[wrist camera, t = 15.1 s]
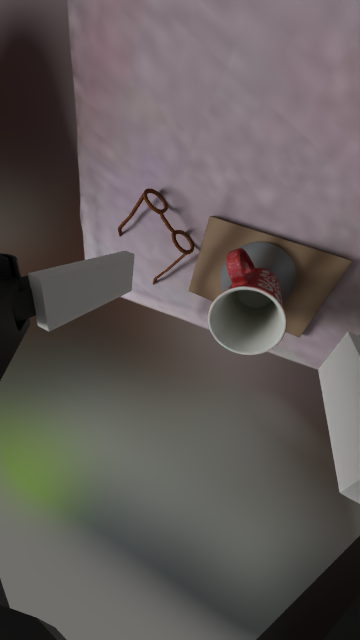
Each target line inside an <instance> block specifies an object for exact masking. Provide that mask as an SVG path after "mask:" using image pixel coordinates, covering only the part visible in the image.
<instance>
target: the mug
mask: <svg viewBox="0 0 360 640" xmlns="http://www.w3.org/2000/svg"><path fill="white" fill-rule="evenodd" d="M226 267H227V271H228V274H229V277H230V279H231V282H232V284H231V286H230V287H229V288H228V289H227V290H226V291H224V292H223V293H221V294H220V295H219V296H218V297H217V298H216V299H215V300H214V301H213V302H212V304H211V306H210V309H209V312H208V325H209V329H210V331H211V333H212V334H213V336H214V338H215V339H216V340H217V342H218V343H220V344H221V345H222V346H223V347H225V348H226V349H228V350H230V351H233V352H235V353H239V354H244V355H256V354H261V353H264V352H267V351H269V350H271V349H272V348H274V347H275V346H276V345H277V344H278V343H279V342H280V341H281V339H282V338H283V336H284V334H285V331H286V327H287V318H286V313H285V311H284V308H283V304H282V297H281V289H280V283H279V281H278V279H277V277H276V276H275V275H274V274H273V273H272V272H271V271H269V270H266V269H263V268H255V266H254V264H253V262H252V260H251V259H250V257H249V255H248V254H247V252H246V251H245V250H244V249H242V248H238V249H235V250H232V251H230V252H229V253H228V254H227V256H226Z"/></svg>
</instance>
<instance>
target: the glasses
mask: <svg viewBox="0 0 360 640" xmlns="http://www.w3.org/2000/svg"><path fill="white" fill-rule="evenodd" d="M148 193H153V194H155V195H157V196H158V197H159V198H160V200H161V201H162V203H163V205H164V209H162V210H159V209H157V208H156V207H154V206H153V205H152V204H151V203H150V201H149V200H148V197H147V194H148ZM143 200H145V202H146V203H147V205H148V206H149V207H150V208H151V209H152V210H153V211H155V212H156V213H158V214H160V216H161V219H162V220H163V222H164V223H165V225H166V226H167V228H168V229H169V230H170V231H171V232H172V240H173V242H174V244H175V246H176V247H177V248H178V249H179V250H180V251H181V252H182V253H184V254H183V255H182V256H181V257H180V258H178V259H177V260H176V261H175V262H174V263H173V264H172V265H171V266H169V267H168V268H167V269H166V270H165V271H163V272H162V273H161V274H159V275H158V276H157V277H155V278H154V281H153V285H154V284H155V283H156V281H157V279H158V278H159V277H160V276H161V275H163V274H164V273H166V272H167V271H168V270H170V269H171V268H172V267H173V266H174V265H175V264H176V263H178V262H179V261H180V260H181V259H182V258H183V257H184V256H185V255H187V254H190V253H191V252H193V250H194V244H193V242H192V240H191V239H190V237H189V236H188V235H187V234H186V233H185V232H184V231H182V230H176V231H175V230H174V229H173V228H172V227H171V226H170V224H169V223H168V221H167V220H166V218H165V217H164V215H163V213H165V212H166V211H167V209H168V206H167V203H166V201H165V200H164V198H163V197H162V196H161V194H160V193H158V192H157V191H155V190H153V189H146V190H145V191H144V193H143V194H142V196H141V197H140V199H139V201H138V202H137V204H136V205H135V207H134V208H133V210H132V212H131V213H130V215H129V216H128V217H127V218H126V219H125V220H124V221H123V222H122V224H121V225H120V226H119V227H118V232H119V236H121V235H122V230H121V229H122V227H123V226H124V225H125V224H126V223H127V222H128V221H129V220H130V219H131V218H132V216H133V215H134V213H135V212H136V210H137V209H138V207H139V206H140V204H141V203H142V201H143ZM176 234H182V235H183V236H185V237H186V238H187V240H188V241H189V243H190V246H191V248H190V250H184V249H183V248H182V247H181V246H180V245H179V244H178V242H177V240H176Z"/></svg>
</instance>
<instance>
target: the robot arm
mask: <svg viewBox="0 0 360 640" xmlns="http://www.w3.org/2000/svg"><path fill="white" fill-rule="evenodd" d="M133 266H134V254H133V253H130V252H127V251H122V252H118V253H113V254H109V255H105V256H100V257H96V258H92V259H88V260H84V261H79V262H75V263H71V264H67V265H62V266H58V267H53V268H49V269H45V270H41V271H36V272H32V273H28V276H24V277H21V275H20V270H19V266H18V261H17V258H16V257H15V256H13V255H9V254H2V253H0V380H1V378H2V376H3V374H4V372H5V371H6V369H7V367H8V365H9V363H10V361H11V359H12V358H13V356H14V354H15V352H16V350H17V348H18V346H19V345H20V342H21V341H22V339H23V337H24V335H25V333H26V332H27V330H28V328H29V326H30V317H33V316H35V315H36V318H37V324H38V326H40V327H42V328H43V329H45V330H47V331H51V330H53V329H55V328H57V327H59V326H61V325H63V324H65V323H67V322H69V321H71V320H73V319H75V318H77V317H79V316H81V315H83V314H85V313H87V312H89V311H91V310H94V309H96V308H97V307H100V306H102V305H104V304H106V303H108V302H110V301H112V300H114V299H116V298H118V297H120V296H122V295H124V294H126V293H128V292H130V291H131V289H132V277H133ZM318 371H319V376H320V382H321V388H322V393H323V400H324V405H325V411H326V417H327V422H328V428H329V433H330V439H331V445H332V451H333V457H334V462H335V468H336V474H337V479H338V485H339V491H340V493H341V494H343V495H345V496H347V497H348V498H350V499H352V500H354V501H355V502H358V503H359V504H360V336H359V335H356V334H353V333H351V332H347V333H346V334H345V336H344V337H343V338H342V339H341V341H340V342H339V343H338V345H337V346H336V347H335V349H334V350H333V351H332V352H331V354H330V355H329V356H328V358H327V359H326V360H325V361H324V363H323V364H322V365H321V367H320V368H319V369H318ZM0 640H66V639H65V638H64V637H63V635H62V634H61V633H60V632H59V631H58V630H57V629H56V628H55V627H53V626H51V625H49V624H47V623H45V622H44V621H42V620H40V619H38V618H36V617H33V616H30V615H27V614H24V613H22V612H19V611H16V610H13V609H10V607H9V604H8V601H7V598H6V595H5V592H4V589H3V586H2V583H1V580H0ZM256 640H360V536H359V537H358V538H357V539H356V540H355V541H354V542H353V543H352V544H351V545H350V546H349V547H348V548H347V549H346V550H345V551H344V552H343V553H342V554H341V555H340V556H339V557H338V558H337V559H336V560H335V561H334V562H333V563H332V564H331V565H330V566H329V567H328V568H327V569H326V570H325V571H324V572H323V573H322V574H321V575H320V576H319V577H318V578H317V579H316V580H315V581H314V582H313V583H312V584H311V585H310V586H309V587H308V588H307V589H306V590H305V591H304V592H303V593H302V594H301V595H300V596H299V597H298V598H297V599H296V600H295V601H294V602H293V603H292V604H291V605H290V606H289V607H288V608H287V609H286V610H285V611H284V613H282V614H281V615H280V617H278V618H277V619H276V620H275V621H274V623H272V624H271V625H270V626H269V628H267V629H266V630H265V631H264V632H263V633H262V635H260V637H258V638H257V639H256Z"/></svg>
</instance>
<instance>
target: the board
mask: <svg viewBox="0 0 360 640" xmlns="http://www.w3.org/2000/svg"><path fill="white" fill-rule="evenodd" d="M238 248H242V249H244V250H245V251H246V252H247V254H248V255H249V257H250V259H251V260H252V262H253V264H254V266H255V268H263V269H266V270H269V271H271V272H272V273H273V274H274V275H275V276H276V277H277V279H278V281H279V283H280V289H281V297H282V304H283V308H284V311H285V313H286V318H287V327H286V331H285V332H287V333H290V334H292V335H295V336H297V337H300V336H301V335H302V333H303V332H304V330H305V329H306V327H307V326H308V324H309V323H310V321H311V320H312V319H313V317H314V316H315V314H316V313H317V311H318V310H319V308H320V307H321V306H322V304H323V303H324V301H325V300H326V298H327V297H328V295H329V294H330V293H331V291H332V290H333V288H334V287H335V285H336V284H337V282H338V281H339V280H340V278H341V277H342V275H343V274H344V272H345V271H346V269H347V268H348V266H349V265H350V264H351V262H352V261H351V260H350V259H347V258H344V257H341V256H338V255H334V254H331V253H328V252H325V251H322V250H319V249H315V248H312V247H309V246H306V245H303V244H299V243H296V242H293V241H290V240H287V239H284V238H280V237H277V236H274V235H271V234H268V233H264V232H261V231H258V230H255V229H252V228H248V227H245V226H242V225H239V224H236V223H233V222H229V221H226V220H223V219H220V218H217V217H213V216H210V217H209V220H208V224H207V227H206V231H205V234H204V238H203V241H202V245H201V249H200V252H199V256H198V259H197V263H196V266H195V270H194V273H193V277H192V280H191V284H190V287H189V291H190V292H192V293H195V294H197V295H199V296H202V297H204V298H207V299H209V300H211V301H214V300H215V299H216V298H217V297H218V296H219V295H220V294H221V293H223V292H224V291H226V290H227V289H228V288H229V287H230V286H231V284H232V282H231V279H230V277H229V274H228V271H227V267H226V256H227V254H228V253H229V252H230V251H232V250H235V249H238Z"/></svg>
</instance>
